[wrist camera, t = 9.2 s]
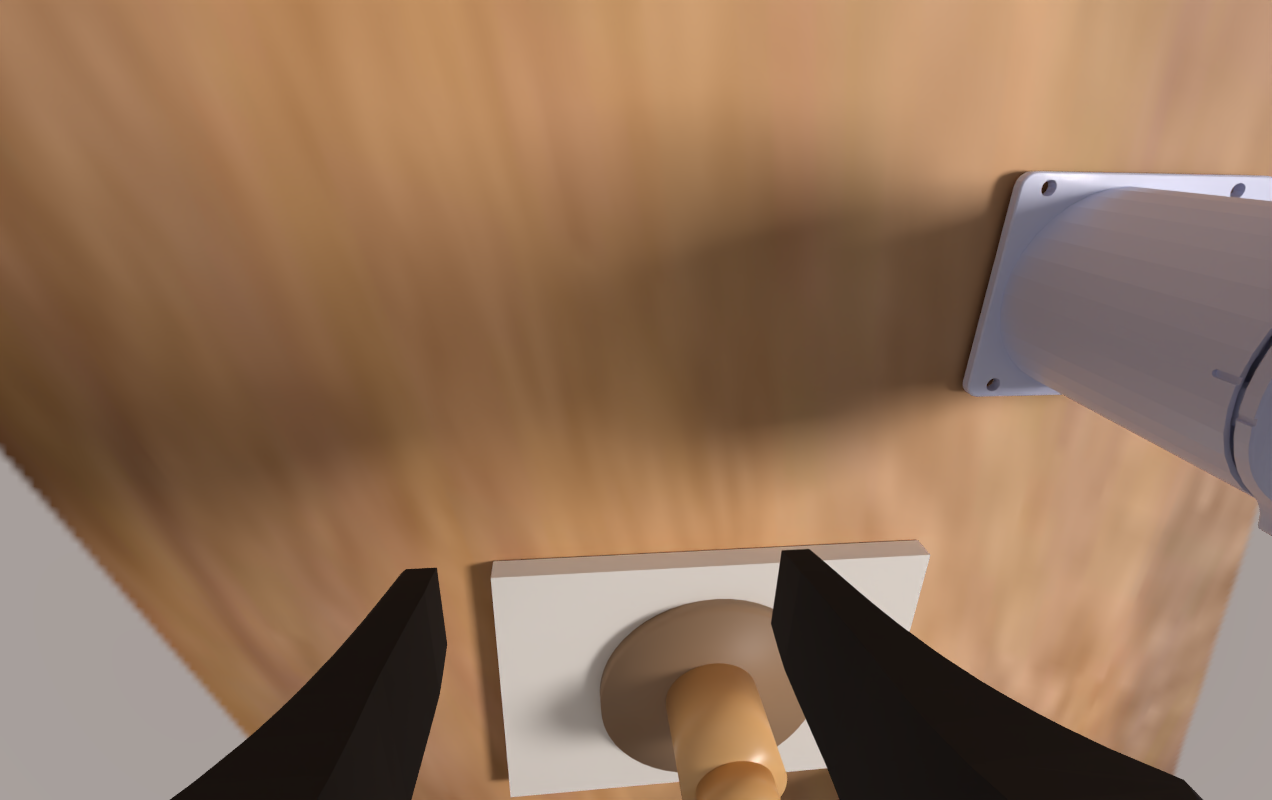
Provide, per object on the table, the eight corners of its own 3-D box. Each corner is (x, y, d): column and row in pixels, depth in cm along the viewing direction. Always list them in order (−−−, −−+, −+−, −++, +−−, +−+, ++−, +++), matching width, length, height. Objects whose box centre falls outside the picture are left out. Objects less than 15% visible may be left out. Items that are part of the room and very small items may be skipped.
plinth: (917, 539, 26) (941, 567, 25) (864, 745, 32) (881, 779, 30) (493, 561, 24) (488, 592, 23) (512, 776, 30) (509, 814, 28)
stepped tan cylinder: (739, 650, 25) (782, 777, 20) (768, 709, 27) (814, 840, 22) (651, 685, 26) (672, 819, 21) (685, 741, 27) (712, 878, 22)
